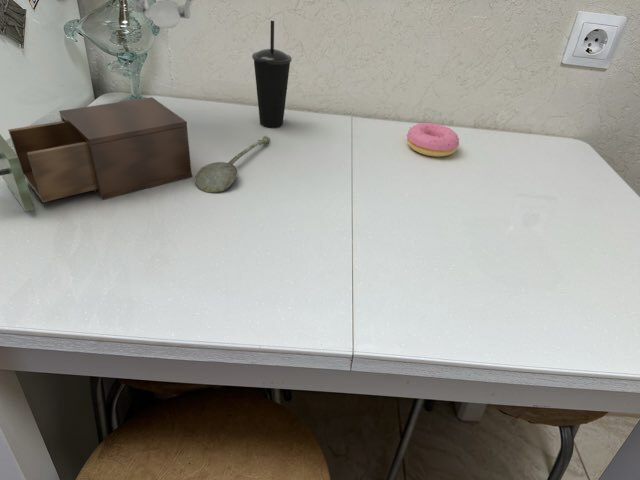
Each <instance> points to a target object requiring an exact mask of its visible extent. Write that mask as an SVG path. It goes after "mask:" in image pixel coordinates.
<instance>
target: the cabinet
mask: <svg viewBox="0 0 640 480" xmlns="http://www.w3.org/2000/svg"><path fill="white" fill-rule="evenodd" d="M58 113H59V116H60V121H66V122H67V123H68V124H69V125H70V126H71V127H72V128H73V129H75V130H76V131H77V132H78V133H79V134H80V135H81V136H82V137H83V138H84V139H85V140H86V141H87V142H88V145H89V149H90V154H91V158H92V162H93V167H94V171H95V176H96V180H97V185H98V189H96V190H93V191H94V192H95V194H96V195H97V196H98V197H99V198H100V199H101V200H102V201H103V200H107V199H110V198H115V197H118V196H122V195H126V194H130V193H134V192H139V191H142V190H145V189H150V188H154V187H157V186H161V185H165V184H168V183H169V184H170V183H173V182H177V181H181V180H184V179H185V180H186V179H188V178H192V177H193V174H192V163H191V153H190V143H189V134H188V133H189V132H188V121H186V120H185V119H183V118H182V117H181V116H180V115H178V114H176V112H174V111H172V110H171V109H169V108H168V107H167V106H166V105H164V104H162V103H161V102H159V101H158V100H156V98H154V97H153V96H152V97H151V96H150V97H143V98H138V99H131V100H124V101H117V102H111V103H110V102H109V103H104V104H97V105H96V104H95V105H91V106H83V107H76V108H69V109H63V110H59V111H58Z"/></svg>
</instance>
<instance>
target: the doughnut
mask: <svg viewBox="0 0 640 480" xmlns="http://www.w3.org/2000/svg"><path fill="white" fill-rule="evenodd" d="M406 142H407V145H408V146H409V148H410V149H412V150H413V151H415V152H416V153H418V154H421V155H424V156H428V157H437V158H440V157H447V156H451V155H452V154H454V153H455V152H456V151H457V149H458V147H459V146H460V138H459V135H458V133H456V131H454V130H453V129H452V128H449V127H447V126H445V125H443V124H439V123H432V122H422V123H417V124H414V125H412V127H409V129H408V131H407V133H406Z"/></svg>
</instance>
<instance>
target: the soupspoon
mask: <svg viewBox="0 0 640 480" xmlns="http://www.w3.org/2000/svg"><path fill="white" fill-rule="evenodd" d="M271 141H272V139H271V137H270V136H269V135H264V136H262V138H261V139H258V140H257V141H256V142H254V143H252V144H250V145H249V146H248V147H247V148H245V149H243V150H242V151H241V152H239V153H238V154H236V155H235V156H234V157H232V158H231V159H230V160H229V161H228V162H225V161H217V162H215V161H214V162H211V163H208V164H206V165H204V166H202V167H201V168H200V169H199V170H198V171H197V173H196V175H195V177H194V178H195V179H194V180H195V184H196V187H197V188H198V189H199V190H201V191H203V192H206V193H212V194H213V193H220V192H223V191H225V190H227V189H228V188H229V187H230V186H232V185H233V183H234V182H235V180H236V179H237V177H238V168H237V166H236V165H234V164H235V163H236V162H237V161H238V160H239V159H240V158H242V157H243V156H244V155H246V154H247V153H248V152H250V151H251V150H252V149H254V148H256V147H257V146H261V145H263V144H264V145H270V144H271Z"/></svg>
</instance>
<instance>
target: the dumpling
mask: <svg viewBox="0 0 640 480" xmlns="http://www.w3.org/2000/svg"><path fill="white" fill-rule="evenodd" d="M179 6H181V5H180V4H179V3H178V2H177V1H175V0H158V1H156V2H154V3H152V4H151V5H149V6H147V7H146V10H145V12H143V15H144V16H145V18H147V19H149V20H152V23H153V24H154V26H156V27H158V28H160V29H173V28H175V27H177V26H178V24H179V22H180V19H181V18H180V15H179V13H180V12H179Z"/></svg>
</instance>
